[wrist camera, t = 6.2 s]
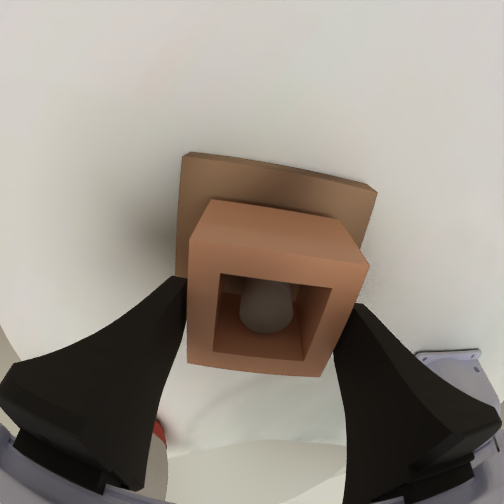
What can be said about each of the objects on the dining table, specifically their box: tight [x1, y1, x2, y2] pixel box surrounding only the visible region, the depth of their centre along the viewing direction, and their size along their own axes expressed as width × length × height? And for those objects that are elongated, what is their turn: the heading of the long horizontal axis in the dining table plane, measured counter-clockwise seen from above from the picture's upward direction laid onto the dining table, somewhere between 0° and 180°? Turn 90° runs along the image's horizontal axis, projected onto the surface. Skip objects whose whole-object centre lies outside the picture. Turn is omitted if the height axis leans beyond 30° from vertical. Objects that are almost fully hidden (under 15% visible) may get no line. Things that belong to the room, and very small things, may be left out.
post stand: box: [175, 152, 378, 334], centre depth 13 cm, size 9×9×6 cm
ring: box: [187, 199, 370, 377], centre depth 11 cm, size 6×6×4 cm
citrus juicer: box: [121, 420, 168, 501], centre depth 18 cm, size 16×17×20 cm
